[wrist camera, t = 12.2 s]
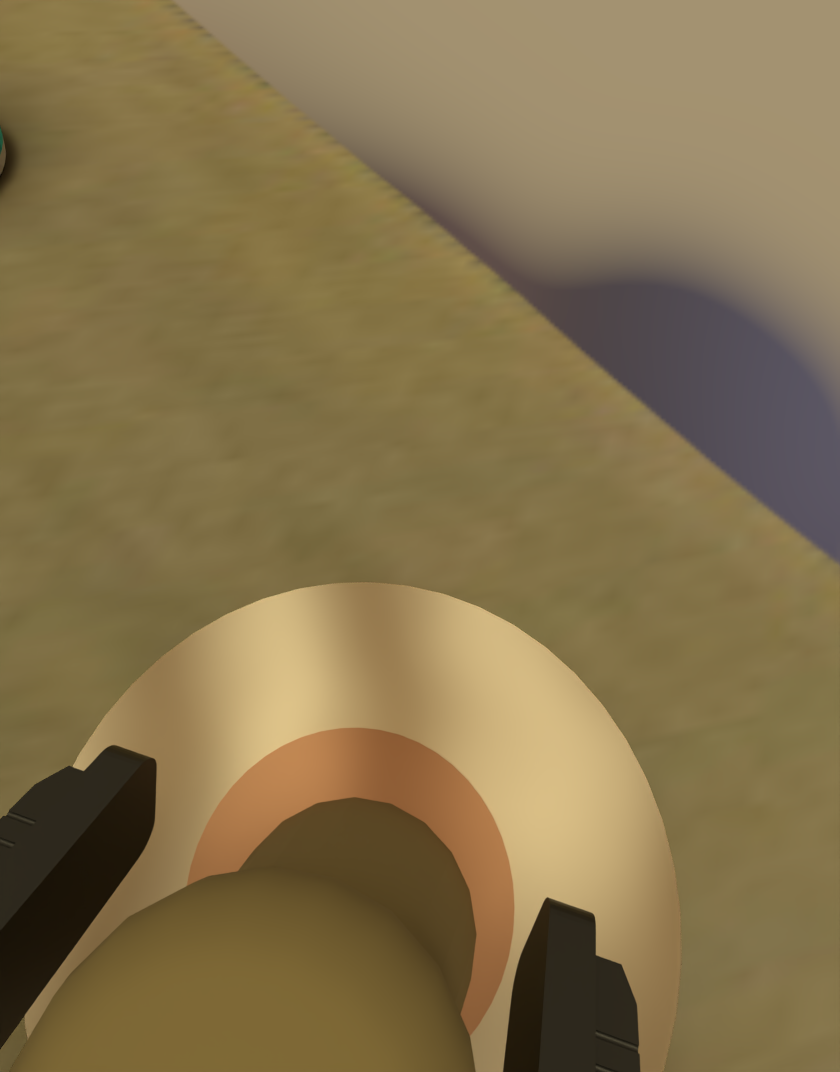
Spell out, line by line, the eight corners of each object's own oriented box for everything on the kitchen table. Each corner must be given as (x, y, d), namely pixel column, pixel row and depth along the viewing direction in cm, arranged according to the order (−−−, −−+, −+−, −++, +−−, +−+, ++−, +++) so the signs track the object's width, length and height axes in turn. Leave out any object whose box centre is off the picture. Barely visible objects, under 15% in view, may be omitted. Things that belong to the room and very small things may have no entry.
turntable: (14, 1226, 17) (-65, 1309, 14) (133, 594, 22) (91, 570, 20) (672, 1274, 16) (717, 1369, 14) (632, 613, 22) (659, 590, 19)
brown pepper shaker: (474, 798, 17) (532, 851, 7) (479, 1087, 15) (571, 1789, 5) (235, 795, 17) (-70, 843, 7) (210, 1082, 15) (-265, 1751, 5)
